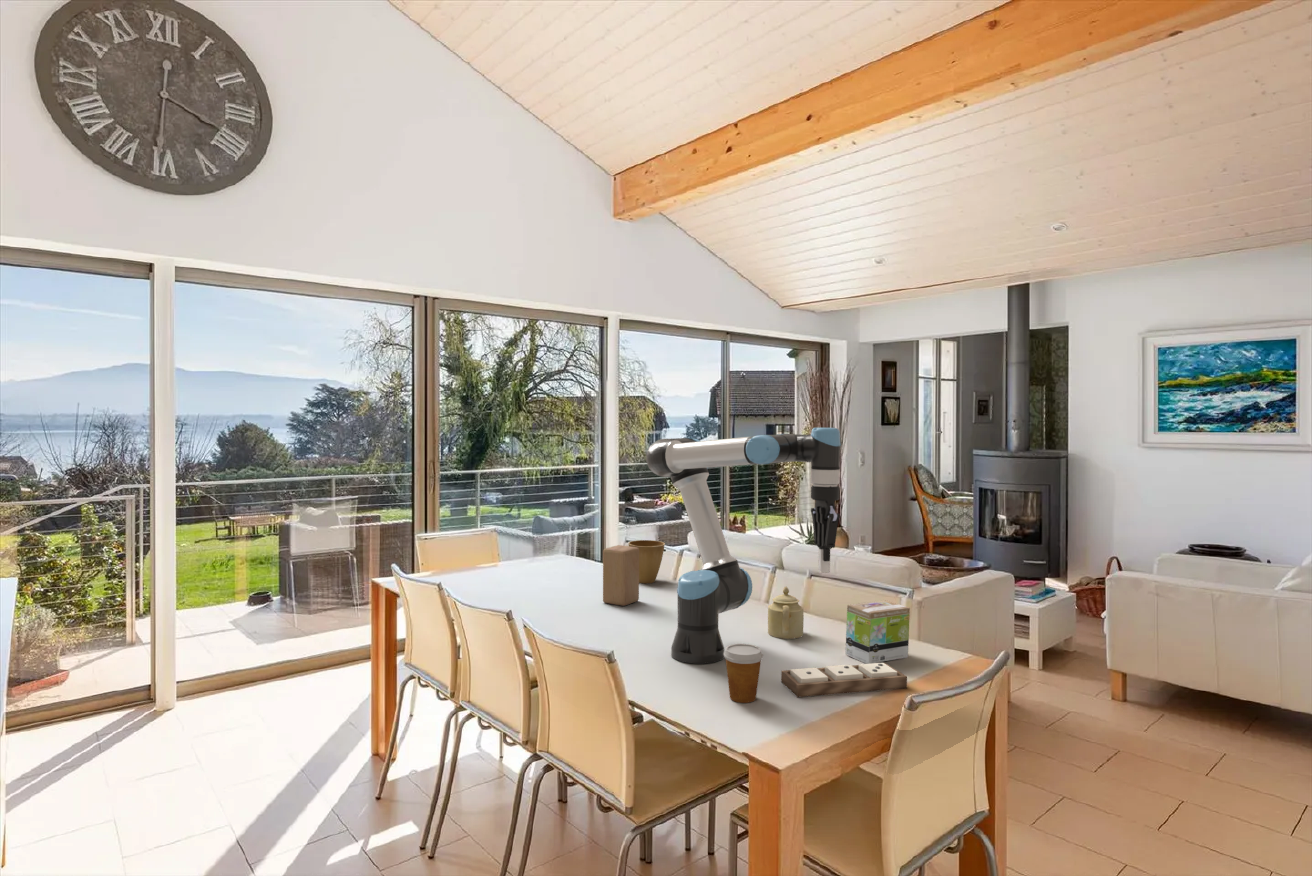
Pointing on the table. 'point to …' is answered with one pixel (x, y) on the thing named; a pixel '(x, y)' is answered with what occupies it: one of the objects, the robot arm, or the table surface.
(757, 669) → the disposable coffee cup
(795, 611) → the beige teapot
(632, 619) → the table surface
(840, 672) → the tile
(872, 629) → the tea box
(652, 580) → the plant pot
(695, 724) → the table surface
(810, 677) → the tile
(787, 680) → the board
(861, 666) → the tile
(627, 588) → the block
